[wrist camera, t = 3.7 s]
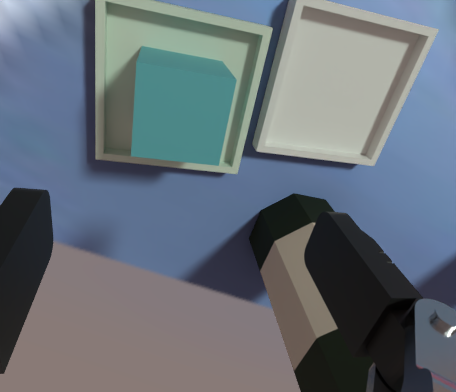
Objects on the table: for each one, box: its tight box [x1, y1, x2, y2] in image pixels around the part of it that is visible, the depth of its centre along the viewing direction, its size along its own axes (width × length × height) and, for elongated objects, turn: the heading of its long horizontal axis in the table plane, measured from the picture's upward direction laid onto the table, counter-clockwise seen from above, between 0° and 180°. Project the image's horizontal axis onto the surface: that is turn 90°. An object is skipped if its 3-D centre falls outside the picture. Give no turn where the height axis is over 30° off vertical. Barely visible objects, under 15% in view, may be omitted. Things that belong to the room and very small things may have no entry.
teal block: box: [131, 46, 237, 166], centre depth 20 cm, size 5×5×5 cm
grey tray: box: [252, 0, 439, 166], centre depth 23 cm, size 10×10×1 cm
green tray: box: [95, 0, 273, 174], centre depth 22 cm, size 10×10×1 cm
